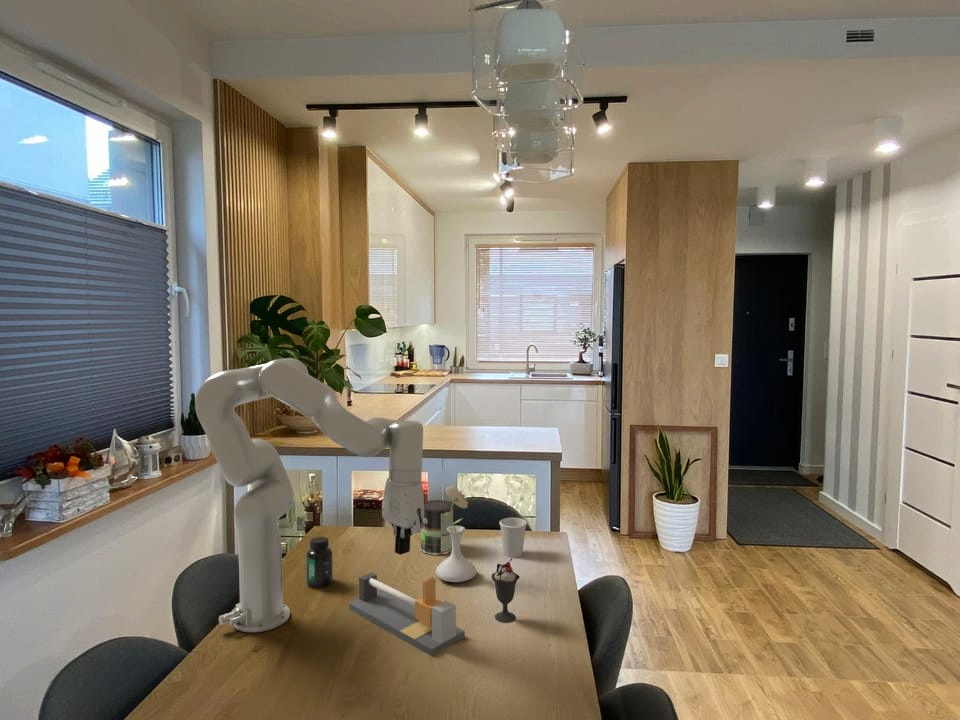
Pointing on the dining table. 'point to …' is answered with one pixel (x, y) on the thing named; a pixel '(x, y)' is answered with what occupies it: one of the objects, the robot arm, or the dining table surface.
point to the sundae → (505, 589)
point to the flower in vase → (456, 546)
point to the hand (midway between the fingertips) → (402, 552)
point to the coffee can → (436, 527)
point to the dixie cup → (513, 536)
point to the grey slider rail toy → (406, 616)
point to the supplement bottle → (319, 563)
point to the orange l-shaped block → (427, 602)
